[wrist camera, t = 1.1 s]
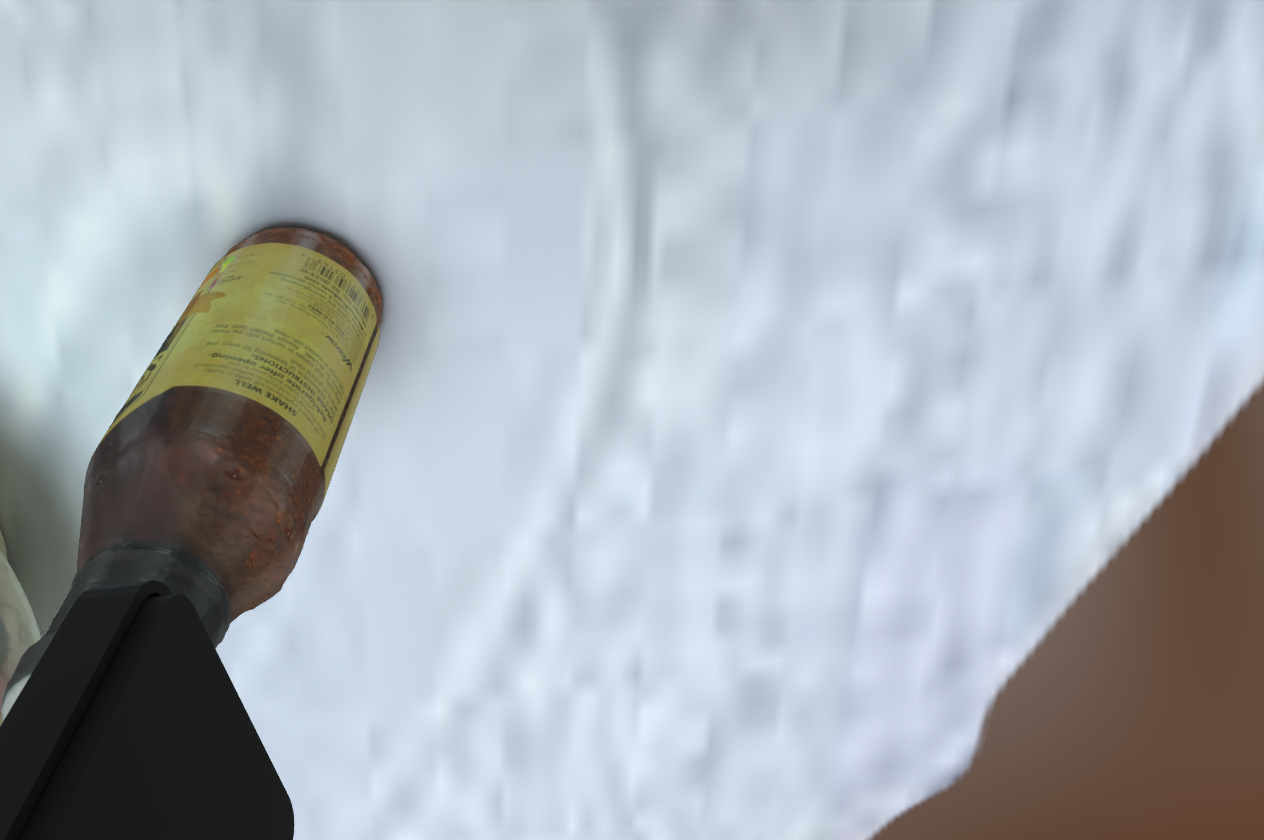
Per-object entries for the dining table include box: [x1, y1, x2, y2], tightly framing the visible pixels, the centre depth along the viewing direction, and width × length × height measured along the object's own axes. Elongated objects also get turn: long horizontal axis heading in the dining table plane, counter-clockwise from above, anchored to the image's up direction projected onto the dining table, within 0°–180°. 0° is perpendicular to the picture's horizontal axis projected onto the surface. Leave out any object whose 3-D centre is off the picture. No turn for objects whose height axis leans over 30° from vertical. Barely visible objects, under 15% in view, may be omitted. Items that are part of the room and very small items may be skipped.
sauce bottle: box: [1, 227, 382, 723], centre depth 34 cm, size 7×6×20 cm
